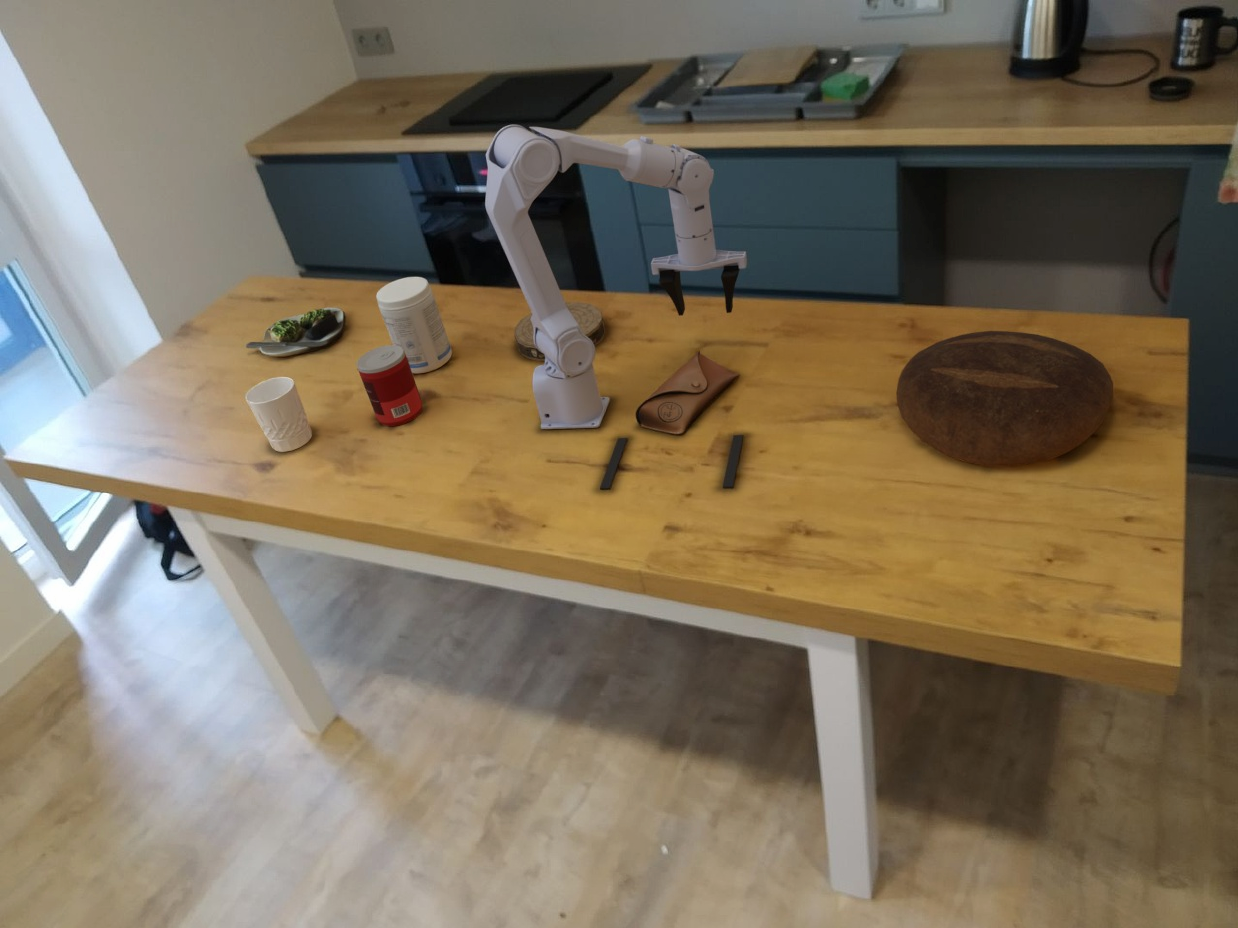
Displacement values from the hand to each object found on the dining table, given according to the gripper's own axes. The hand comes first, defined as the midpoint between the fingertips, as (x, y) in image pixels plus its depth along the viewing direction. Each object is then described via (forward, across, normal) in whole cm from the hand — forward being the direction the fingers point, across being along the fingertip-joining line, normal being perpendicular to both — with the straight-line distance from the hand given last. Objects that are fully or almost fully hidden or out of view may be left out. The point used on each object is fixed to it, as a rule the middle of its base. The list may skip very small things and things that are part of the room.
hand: (705, 311), depth 156 cm
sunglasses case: (+9, +2, +12) cm, 15 cm away
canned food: (+9, +50, +14) cm, 53 cm away
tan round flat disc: (+9, +29, -9) cm, 31 cm away
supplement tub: (+9, +53, -3) cm, 54 cm away
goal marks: (+9, +1, +28) cm, 30 cm away
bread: (+9, -42, +17) cm, 47 cm away
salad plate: (+9, +84, -15) cm, 86 cm away
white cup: (+9, +68, +21) cm, 71 cm away
